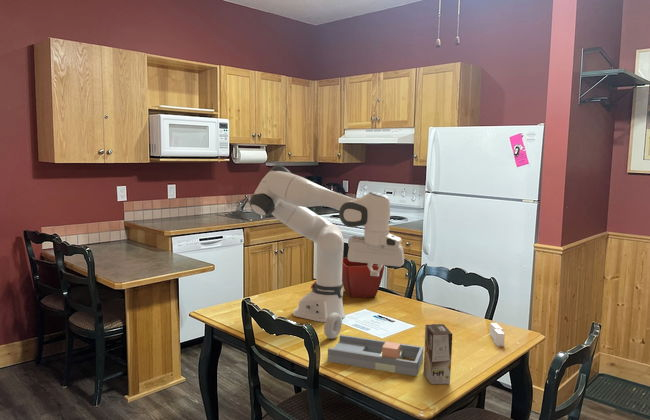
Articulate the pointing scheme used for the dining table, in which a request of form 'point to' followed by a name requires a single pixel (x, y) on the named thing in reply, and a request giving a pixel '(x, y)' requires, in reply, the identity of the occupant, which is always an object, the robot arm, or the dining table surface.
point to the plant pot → (360, 279)
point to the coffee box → (437, 353)
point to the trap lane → (375, 355)
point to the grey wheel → (332, 325)
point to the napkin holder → (497, 334)
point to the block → (391, 350)
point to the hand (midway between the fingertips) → (374, 275)
